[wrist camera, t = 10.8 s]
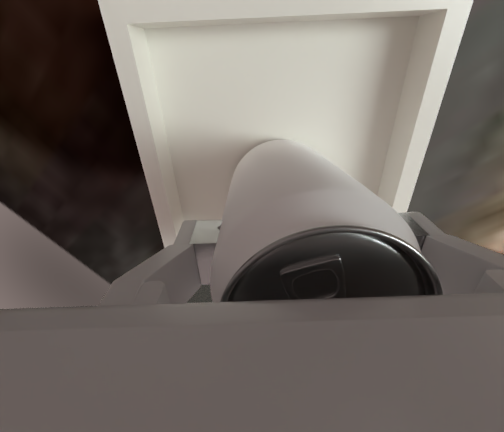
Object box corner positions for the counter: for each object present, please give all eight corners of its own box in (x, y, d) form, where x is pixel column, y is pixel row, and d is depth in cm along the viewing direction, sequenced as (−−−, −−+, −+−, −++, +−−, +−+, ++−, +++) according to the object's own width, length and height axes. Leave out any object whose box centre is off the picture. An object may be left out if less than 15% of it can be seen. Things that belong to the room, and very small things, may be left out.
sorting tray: (125, 7, 14) (96, -5, 11) (436, -8, 13) (480, -24, 11) (180, 249, 22) (171, 274, 19) (372, 243, 22) (389, 268, 19)
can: (248, 240, 19) (246, 426, 8) (217, 156, 17) (153, 256, 6) (335, 216, 18) (463, 382, 7) (316, 123, 16) (464, 166, 5)
